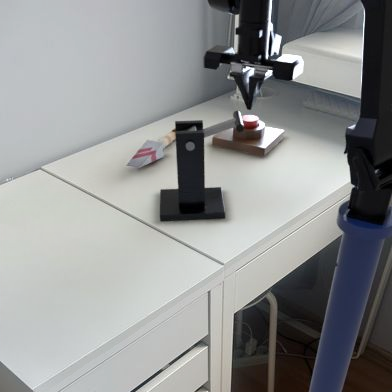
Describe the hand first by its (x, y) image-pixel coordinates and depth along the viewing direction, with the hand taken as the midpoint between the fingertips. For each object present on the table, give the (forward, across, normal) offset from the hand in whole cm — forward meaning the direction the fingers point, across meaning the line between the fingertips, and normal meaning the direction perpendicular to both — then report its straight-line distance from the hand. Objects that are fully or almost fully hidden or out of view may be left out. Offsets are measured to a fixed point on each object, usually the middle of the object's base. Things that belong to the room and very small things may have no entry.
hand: (250, 109), depth 102 cm
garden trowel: (+7, +14, +14) cm, 21 cm away
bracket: (+7, -3, +29) cm, 30 cm away
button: (+3, 0, 0) cm, 3 cm away
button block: (+7, 0, 0) cm, 7 cm away
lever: (-5, -6, +27) cm, 28 cm away
